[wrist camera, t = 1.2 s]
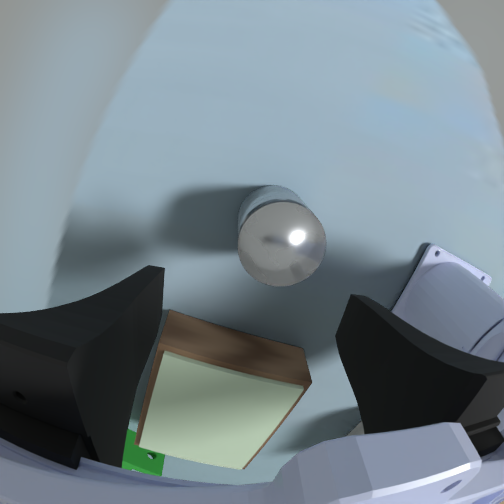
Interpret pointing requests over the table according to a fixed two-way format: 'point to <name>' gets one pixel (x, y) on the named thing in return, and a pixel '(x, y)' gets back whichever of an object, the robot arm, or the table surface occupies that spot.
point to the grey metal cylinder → (279, 237)
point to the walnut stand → (218, 392)
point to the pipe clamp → (141, 457)
